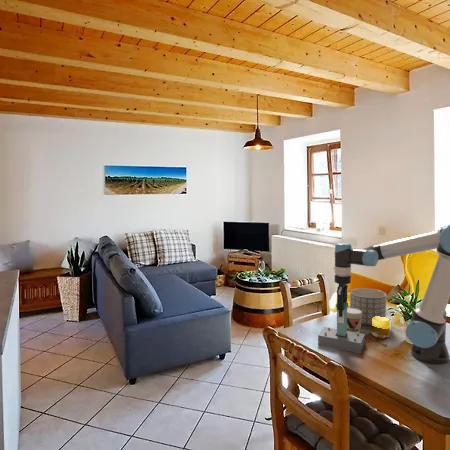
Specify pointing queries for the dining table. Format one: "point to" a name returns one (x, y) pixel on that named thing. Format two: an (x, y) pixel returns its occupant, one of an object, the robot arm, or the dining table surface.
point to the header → (341, 340)
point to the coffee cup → (354, 320)
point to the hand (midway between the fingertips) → (342, 321)
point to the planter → (368, 303)
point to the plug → (340, 326)
